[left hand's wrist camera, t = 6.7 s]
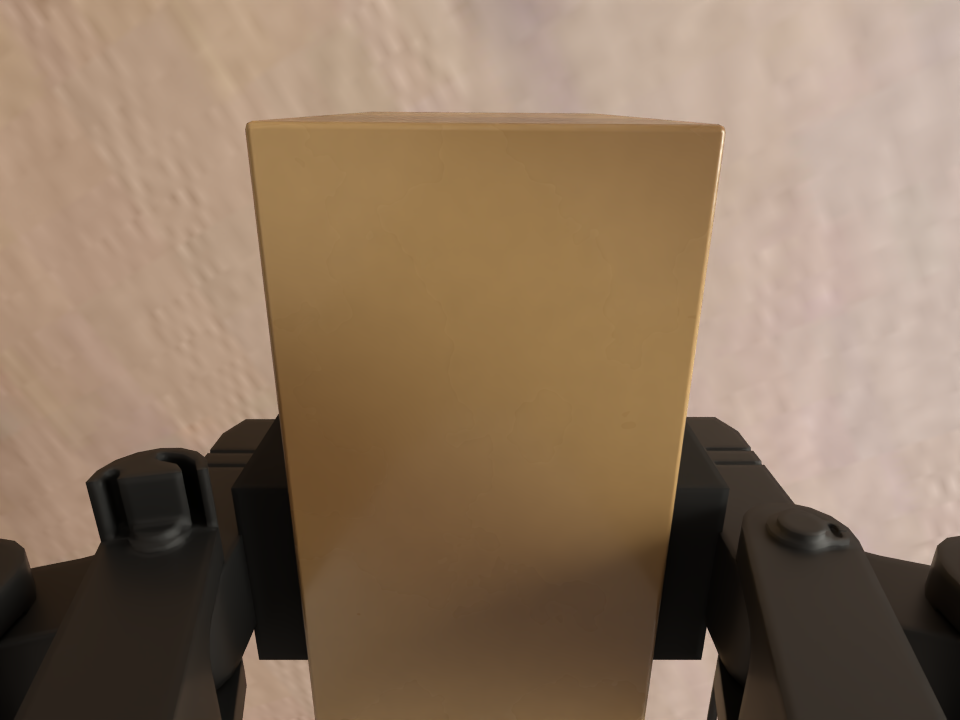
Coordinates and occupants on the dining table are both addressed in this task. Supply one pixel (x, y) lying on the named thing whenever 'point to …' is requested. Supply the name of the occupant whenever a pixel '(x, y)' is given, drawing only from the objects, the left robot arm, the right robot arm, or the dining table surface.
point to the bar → (482, 398)
